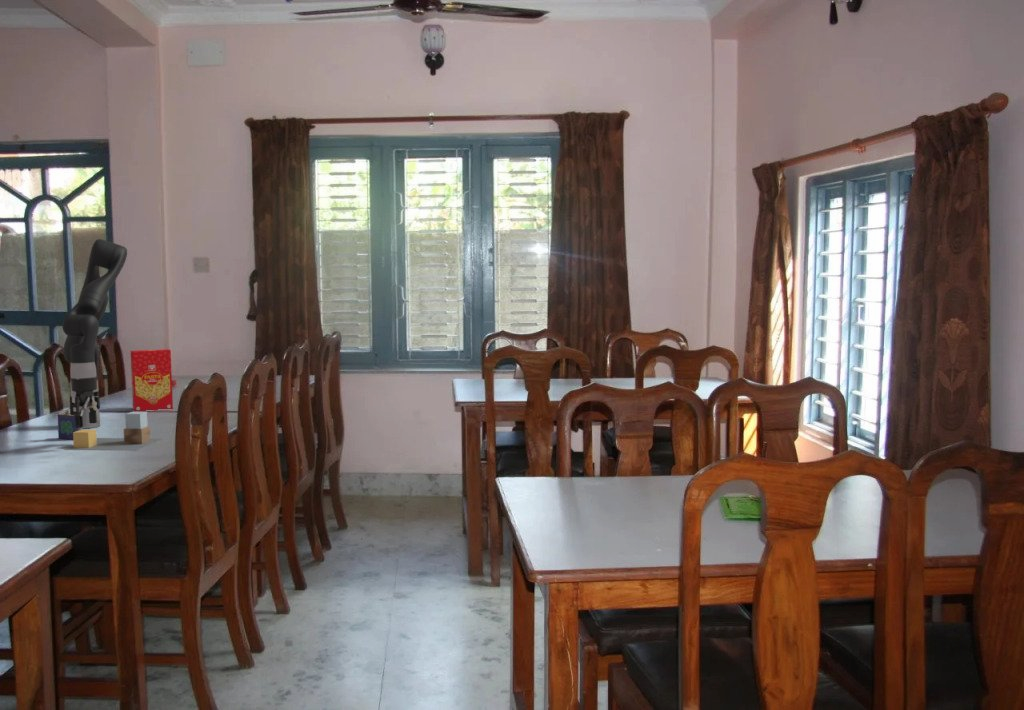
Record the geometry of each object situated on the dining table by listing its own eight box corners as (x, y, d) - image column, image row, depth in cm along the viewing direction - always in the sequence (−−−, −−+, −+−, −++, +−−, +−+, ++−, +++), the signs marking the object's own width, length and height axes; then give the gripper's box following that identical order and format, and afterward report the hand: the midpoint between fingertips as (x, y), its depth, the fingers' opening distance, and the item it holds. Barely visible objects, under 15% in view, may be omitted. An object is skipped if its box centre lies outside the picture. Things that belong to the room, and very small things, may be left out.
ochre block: (73, 447, 283) (73, 432, 283) (82, 444, 288) (81, 429, 288) (88, 447, 283) (88, 432, 282) (96, 444, 288) (96, 429, 287)
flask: (84, 440, 298) (82, 409, 297) (77, 441, 295) (76, 410, 294) (62, 438, 301) (60, 407, 300) (55, 440, 298) (53, 409, 297)
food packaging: (134, 412, 356) (132, 351, 353) (133, 411, 360) (130, 350, 358) (173, 409, 363) (170, 350, 361) (170, 408, 368) (168, 349, 365)
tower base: (124, 444, 289) (123, 429, 288) (133, 440, 295) (132, 425, 294) (142, 444, 289) (141, 429, 288) (150, 440, 295) (149, 426, 294)
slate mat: (63, 450, 280) (63, 449, 280) (96, 439, 300) (95, 437, 300) (136, 451, 279) (136, 450, 279) (164, 439, 298) (164, 438, 298)
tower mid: (125, 428, 289) (125, 413, 288) (133, 426, 294) (132, 411, 293) (140, 428, 289) (140, 414, 288) (147, 426, 294) (147, 411, 293)
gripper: (83, 373, 291) (86, 422, 292) (60, 378, 277) (63, 429, 278) (105, 373, 290) (108, 421, 292) (83, 378, 276) (86, 429, 278)
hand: (86, 425), depth 285 cm, fingers open, 8 cm apart
